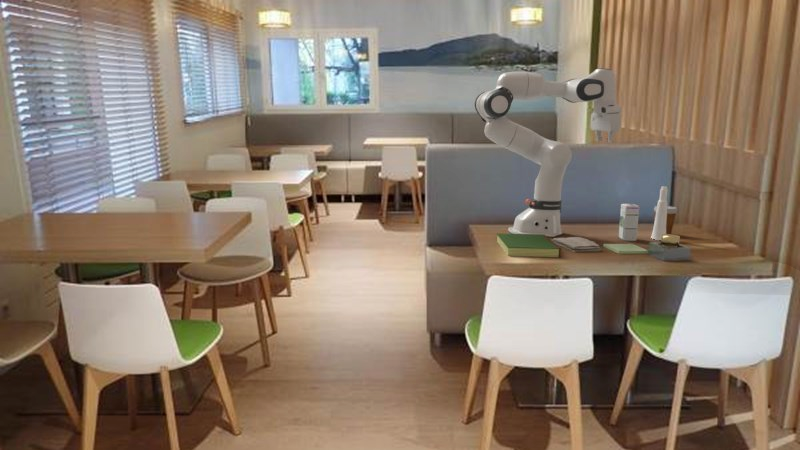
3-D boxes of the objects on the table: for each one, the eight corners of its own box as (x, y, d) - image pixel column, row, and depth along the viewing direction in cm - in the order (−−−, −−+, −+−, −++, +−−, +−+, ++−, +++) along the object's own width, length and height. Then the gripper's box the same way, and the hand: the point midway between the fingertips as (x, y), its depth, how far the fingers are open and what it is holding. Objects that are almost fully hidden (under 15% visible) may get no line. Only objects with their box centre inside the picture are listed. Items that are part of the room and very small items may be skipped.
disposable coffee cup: (677, 237, 252) (680, 209, 250) (653, 235, 253) (657, 208, 251) (671, 232, 261) (674, 206, 259) (648, 231, 262) (651, 204, 260)
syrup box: (636, 241, 242) (640, 205, 239) (622, 240, 241) (626, 205, 239) (631, 238, 247) (634, 203, 244) (617, 237, 247) (620, 203, 244)
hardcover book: (560, 258, 210) (560, 248, 209) (507, 257, 210) (507, 247, 209) (543, 243, 234) (544, 234, 234) (495, 242, 234) (496, 233, 233)
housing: (663, 260, 208) (664, 248, 208) (647, 254, 218) (649, 242, 217) (689, 260, 210) (691, 248, 209) (673, 254, 220) (674, 242, 219)
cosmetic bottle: (654, 240, 243) (660, 187, 239) (648, 237, 249) (653, 185, 245) (669, 241, 243) (675, 187, 239) (662, 237, 249) (668, 185, 245)
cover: (665, 259, 211) (667, 237, 209) (655, 255, 217) (658, 234, 215) (680, 259, 212) (683, 237, 210) (671, 255, 217) (673, 234, 216)
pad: (618, 253, 218) (618, 251, 217) (603, 246, 229) (603, 243, 229) (648, 253, 219) (649, 250, 219) (632, 246, 231) (632, 243, 231)
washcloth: (574, 253, 218) (575, 245, 217) (550, 243, 235) (550, 235, 234) (603, 252, 221) (603, 244, 220) (576, 242, 238) (577, 235, 237)
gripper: (586, 108, 257) (586, 141, 259) (608, 109, 237) (608, 143, 239) (600, 107, 257) (600, 139, 260) (623, 107, 237) (623, 142, 240)
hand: (604, 141), depth 250 cm, fingers open, 8 cm apart
